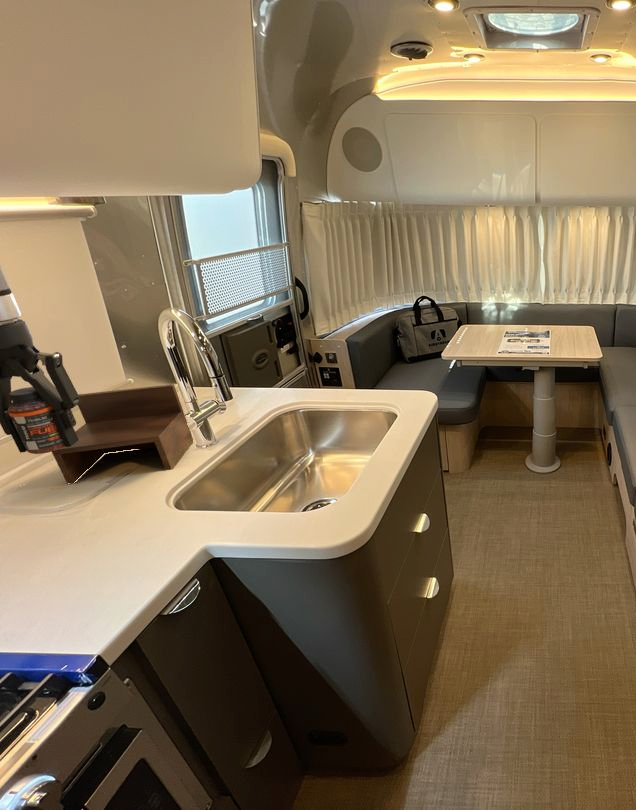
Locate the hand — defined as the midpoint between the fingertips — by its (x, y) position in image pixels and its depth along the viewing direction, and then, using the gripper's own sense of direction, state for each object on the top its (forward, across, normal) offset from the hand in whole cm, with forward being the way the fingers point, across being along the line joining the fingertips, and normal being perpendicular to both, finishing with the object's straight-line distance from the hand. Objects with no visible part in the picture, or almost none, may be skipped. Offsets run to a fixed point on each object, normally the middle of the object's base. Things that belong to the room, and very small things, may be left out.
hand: (50, 445), depth 89 cm
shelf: (+17, +1, -24) cm, 29 cm away
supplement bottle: (0, 0, 0) cm, 0 cm away
